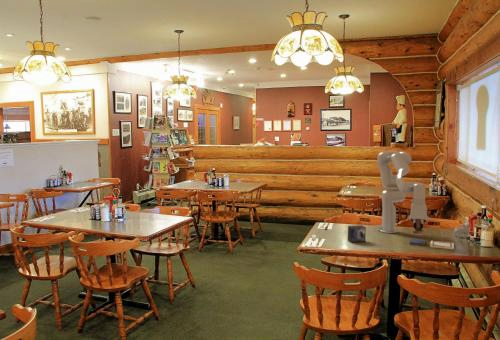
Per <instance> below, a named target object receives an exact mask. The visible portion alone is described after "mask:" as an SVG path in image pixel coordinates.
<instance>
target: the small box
mask: <svg viewBox="0 0 500 340" xmlns="http://www.w3.org/2000/svg"><path fill="white" fill-rule="evenodd" d="M366 229H367V228H366V226H365V225H361V224H360V225H348V226H347V242H349V243H350V244H351V243H353V244H355V243H356V244H357V243H366V233H367V232H366V231H367V230H366Z"/></svg>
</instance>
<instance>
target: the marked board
mask: <svg viewBox="0 0 500 340" xmlns="http://www.w3.org/2000/svg"><path fill="white" fill-rule="evenodd" d="M429 247H430V248H437V249H445V250H454V249H455V244H454V242H448V241H436V240H430V243H429Z"/></svg>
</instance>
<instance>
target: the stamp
mask: <svg viewBox="0 0 500 340" xmlns="http://www.w3.org/2000/svg"><path fill="white" fill-rule="evenodd" d="M415 222H416V229H415V228H413V230H412V234H413V235H419V236H423V235H424V228H422V230H421V219H415Z"/></svg>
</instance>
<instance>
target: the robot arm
mask: <svg viewBox="0 0 500 340" xmlns="http://www.w3.org/2000/svg"><path fill="white" fill-rule="evenodd" d="M376 158H377V159H376V161H377V166H378V168H379V169H378V170H379V173H380V179H381V180H380V181H381V186H382V187H383V188H385V189H384V190H383V191H382V192H381V194H380V195H381V196H380V197H381V203H382V204H381V206H382V209H381V210H382V213H381V214H382V217H381V220H382V221H381V224H380V225H379V224H378V225H377V224H376V225H375V228H377V229H379V232H381V233H384V234H396V233H398V229H396V218H397V217H396V216H397V215H396V214H397V208H396V205H395V204H394V203H401V202H404V201H405V199H406V194H412V199H410V202H411V205H410V212H409V213H410V214H409V215H408V216H407V219H408V220H410V221H411V222H412V223H413V229H416V221H415V219H421V230H422V229H424V224H425V223H426V222H428V221H430V217H429V216H428V208H427V204H426V184H425V183H421V182H418V181H405V180H404V178H403V176H405V175H407V174H409V172H410V170H411V169H410V167H409V164H410V163H411V162H412V155H411V154H410V153H409V152H406V151H400V150H398V151H397V150H396V151H395V150H394V151H393V150H389V151H381V152H380V153H378V155H377V157H376ZM389 163H392V165H393V167H394V169H395V171H396V174H393V170H392V167H391V165H390V164H389ZM387 188H388V189H387Z"/></svg>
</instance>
